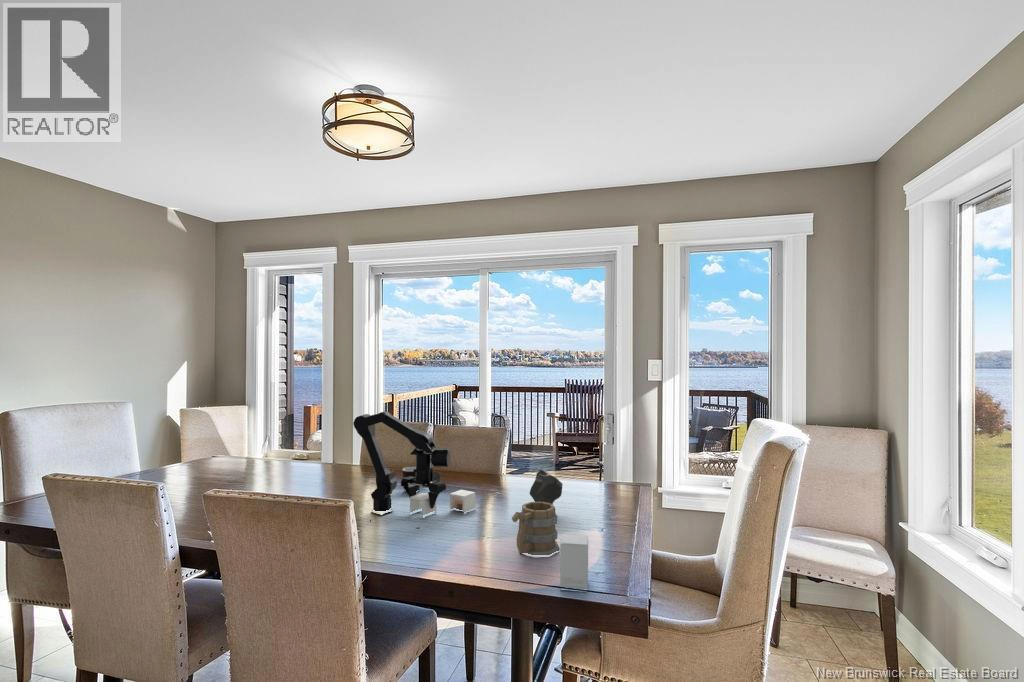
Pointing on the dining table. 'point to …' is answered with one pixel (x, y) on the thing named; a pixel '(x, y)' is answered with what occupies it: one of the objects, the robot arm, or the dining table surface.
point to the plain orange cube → (459, 504)
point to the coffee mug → (409, 473)
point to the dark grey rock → (546, 487)
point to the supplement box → (574, 561)
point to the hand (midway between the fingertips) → (423, 506)
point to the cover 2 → (467, 499)
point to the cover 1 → (421, 503)
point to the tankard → (537, 529)
